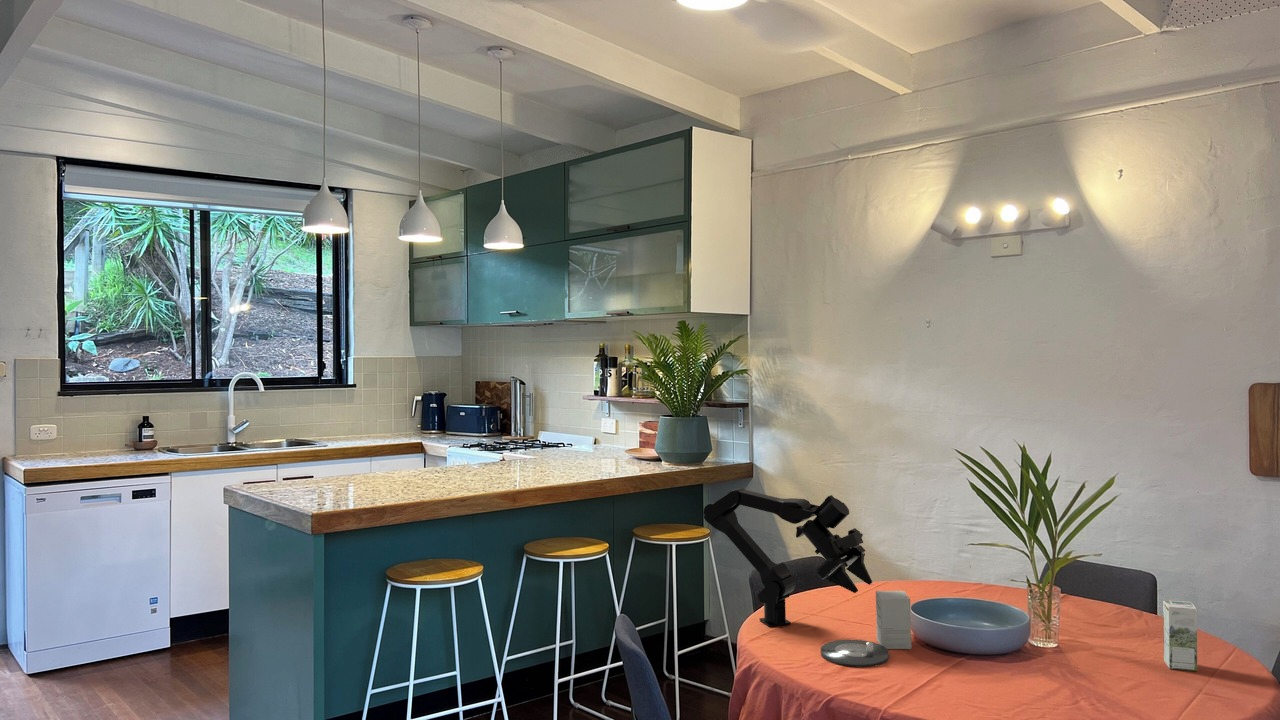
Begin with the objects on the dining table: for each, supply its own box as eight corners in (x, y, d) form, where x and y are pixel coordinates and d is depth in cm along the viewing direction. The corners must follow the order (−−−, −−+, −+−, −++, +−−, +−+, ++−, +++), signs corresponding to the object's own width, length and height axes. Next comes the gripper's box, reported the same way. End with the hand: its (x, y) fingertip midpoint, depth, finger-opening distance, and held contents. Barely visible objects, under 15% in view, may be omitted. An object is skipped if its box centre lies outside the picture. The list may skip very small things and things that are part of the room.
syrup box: (1191, 663, 207) (1190, 600, 207) (1198, 672, 202) (1197, 607, 201) (1163, 660, 209) (1162, 598, 209) (1169, 669, 204) (1168, 605, 203)
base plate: (807, 651, 220) (806, 633, 220) (856, 640, 228) (855, 622, 228) (852, 671, 206) (852, 652, 206) (903, 658, 214) (903, 639, 214)
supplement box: (905, 640, 228) (905, 590, 227) (911, 650, 220) (910, 598, 220) (876, 639, 228) (875, 590, 228) (880, 649, 221) (880, 598, 221)
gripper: (827, 526, 224) (870, 576, 218) (857, 514, 239) (898, 560, 233) (799, 554, 229) (840, 604, 222) (830, 540, 244) (870, 586, 237)
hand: (864, 587), depth 229 cm, fingers open, 9 cm apart
